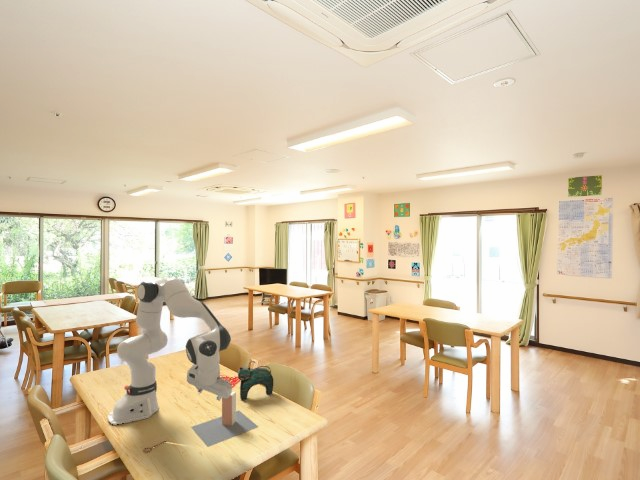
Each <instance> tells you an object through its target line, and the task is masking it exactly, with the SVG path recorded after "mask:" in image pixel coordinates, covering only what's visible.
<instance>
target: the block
mask: <svg viewBox="0 0 640 480" xmlns="http://www.w3.org/2000/svg"><path fill="white" fill-rule="evenodd" d="M236 397H237V392H236V391H233V390H232V393H231V395H230V396H229V397H228V398H227V399H225V398H223V397H222V398H221V416H222V424H223V425H229V426H232V425H233V424H234V423H235V422H236V411H237V398H236Z"/></svg>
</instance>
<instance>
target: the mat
mask: <svg viewBox="0 0 640 480" xmlns="http://www.w3.org/2000/svg"><path fill="white" fill-rule="evenodd" d="M190 428H191V429H192V430H193V432H194V433H195V434H196V435H197V436H198V437H199V439H200V440H201V441H202V442H203V443H204V444H205V446H206V447H207V448H208V447H211V446H215V445H216V444H218V443H221V442H224V441H227V440H229V439H232V438H235V437H236V436H238V435H242V434H244V433H247V432H249V431H252V430H254V429H255V430H256V428H259V425H257V423H255V422H253V421H252V420H251V419H250V418H249V417H248V416H246V415H245V414H244V413H243V412H242V411H241V410H236V422H235V423H234V424H233V425H232V426H229V425H223V424H222V415H221V416H218V417H216V418H212V419H211V420H208V421H205V422H201V423H199V424H195V425H193V426H192V425H191V426H190Z"/></svg>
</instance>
